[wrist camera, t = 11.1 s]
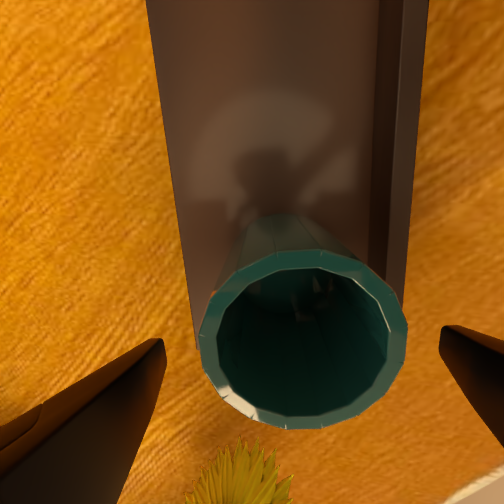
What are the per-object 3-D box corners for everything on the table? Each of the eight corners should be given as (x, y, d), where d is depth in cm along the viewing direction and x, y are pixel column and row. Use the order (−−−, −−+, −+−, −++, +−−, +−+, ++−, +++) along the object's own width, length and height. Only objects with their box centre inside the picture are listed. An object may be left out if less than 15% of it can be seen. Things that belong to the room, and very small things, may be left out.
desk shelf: (369, 8, 16) (438, -98, 10) (357, 313, 21) (397, 370, 15) (170, 29, 17) (115, -58, 10) (208, 320, 22) (186, 377, 16)
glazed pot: (339, 209, 15) (417, 243, 8) (337, 313, 17) (399, 428, 9) (223, 216, 16) (185, 256, 8) (233, 318, 17) (210, 432, 10)
